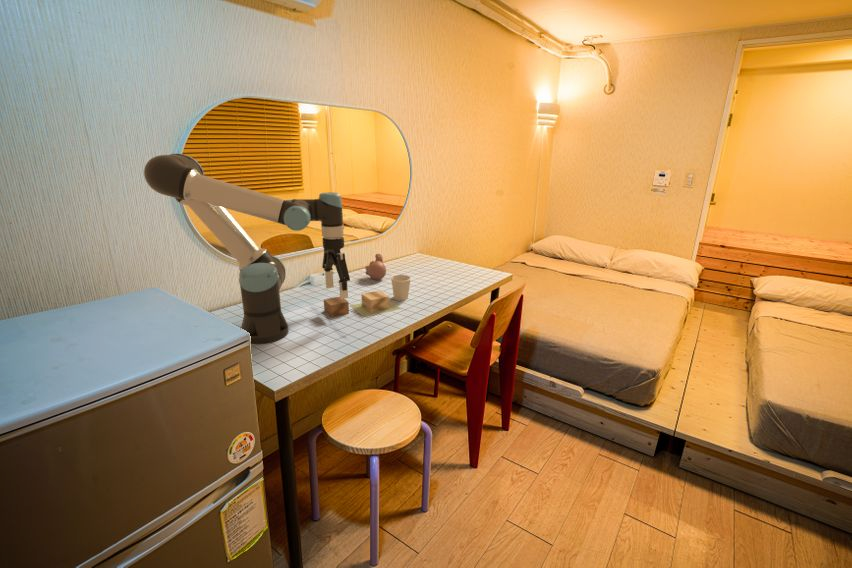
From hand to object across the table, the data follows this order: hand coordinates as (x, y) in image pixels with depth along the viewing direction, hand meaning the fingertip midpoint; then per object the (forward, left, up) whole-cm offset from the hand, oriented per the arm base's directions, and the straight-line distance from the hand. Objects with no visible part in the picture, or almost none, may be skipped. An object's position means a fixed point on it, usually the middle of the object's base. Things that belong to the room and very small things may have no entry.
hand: (336, 292), depth 154 cm
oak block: (+15, -3, -8) cm, 17 cm away
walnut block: (0, 0, -9) cm, 9 cm away
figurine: (+33, +32, -9) cm, 47 cm away
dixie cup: (+29, +1, -9) cm, 30 cm away
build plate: (+15, -3, -9) cm, 17 cm away
